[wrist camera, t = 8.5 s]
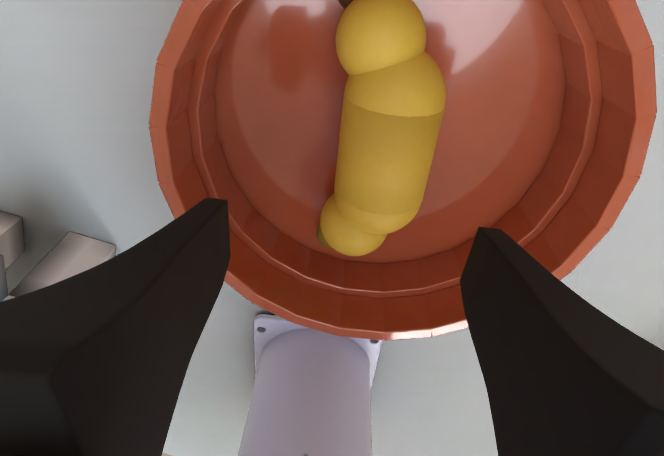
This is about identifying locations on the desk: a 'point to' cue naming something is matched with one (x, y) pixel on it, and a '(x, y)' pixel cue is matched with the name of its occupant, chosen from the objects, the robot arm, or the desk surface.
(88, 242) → the toy llama
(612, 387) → the robot arm
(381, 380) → the desk surface
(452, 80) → the bowl
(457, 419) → the desk surface
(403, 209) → the banana
